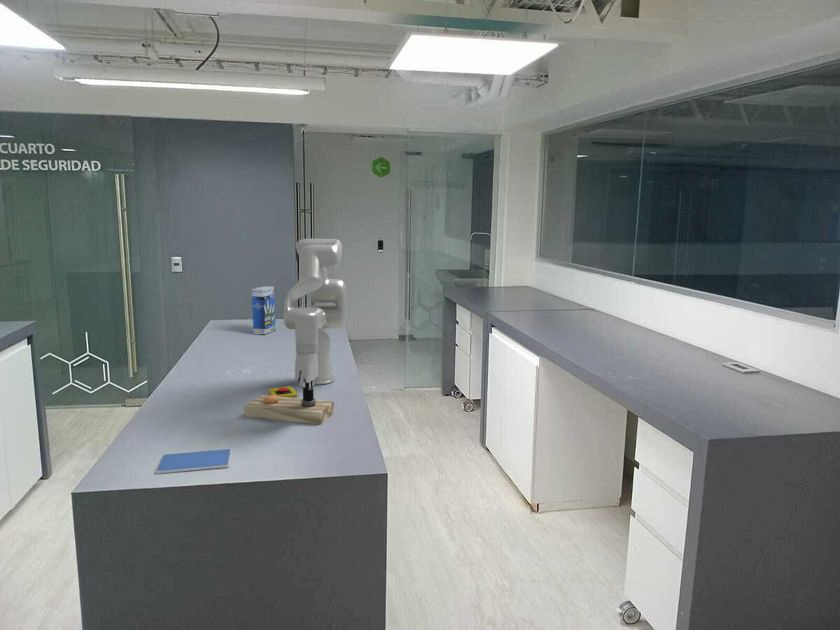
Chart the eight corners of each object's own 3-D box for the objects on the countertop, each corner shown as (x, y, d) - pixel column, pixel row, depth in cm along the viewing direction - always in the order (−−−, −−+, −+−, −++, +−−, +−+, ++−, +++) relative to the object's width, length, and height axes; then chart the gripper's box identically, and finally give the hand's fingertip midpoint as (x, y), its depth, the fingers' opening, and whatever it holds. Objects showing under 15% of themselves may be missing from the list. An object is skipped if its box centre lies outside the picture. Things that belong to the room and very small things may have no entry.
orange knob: (268, 409, 216) (267, 394, 215) (280, 410, 215) (280, 395, 214) (262, 413, 211) (261, 398, 210) (274, 415, 210) (274, 399, 209)
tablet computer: (154, 476, 164) (154, 471, 164) (162, 457, 176) (162, 453, 176) (229, 469, 169) (229, 465, 168) (232, 452, 181) (232, 447, 180)
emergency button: (274, 395, 220) (266, 384, 233) (274, 407, 221) (266, 395, 234) (299, 392, 224) (290, 381, 237) (299, 403, 224) (290, 392, 238)
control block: (261, 405, 220) (261, 395, 220) (334, 412, 214) (334, 401, 213) (244, 416, 209) (244, 405, 208) (321, 423, 203) (320, 412, 202)
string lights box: (265, 335, 338) (263, 289, 334) (252, 334, 340) (250, 288, 335) (276, 330, 351) (274, 286, 346) (263, 329, 353) (262, 285, 348)
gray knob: (305, 412, 213) (304, 397, 212) (318, 413, 212) (317, 398, 211) (299, 416, 208) (299, 401, 207) (312, 418, 207) (312, 402, 206)
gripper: (305, 342, 213) (307, 393, 217) (287, 352, 199) (288, 406, 202) (325, 344, 212) (326, 394, 215) (308, 353, 197) (309, 407, 201)
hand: (308, 400), depth 209 cm, fingers closed
